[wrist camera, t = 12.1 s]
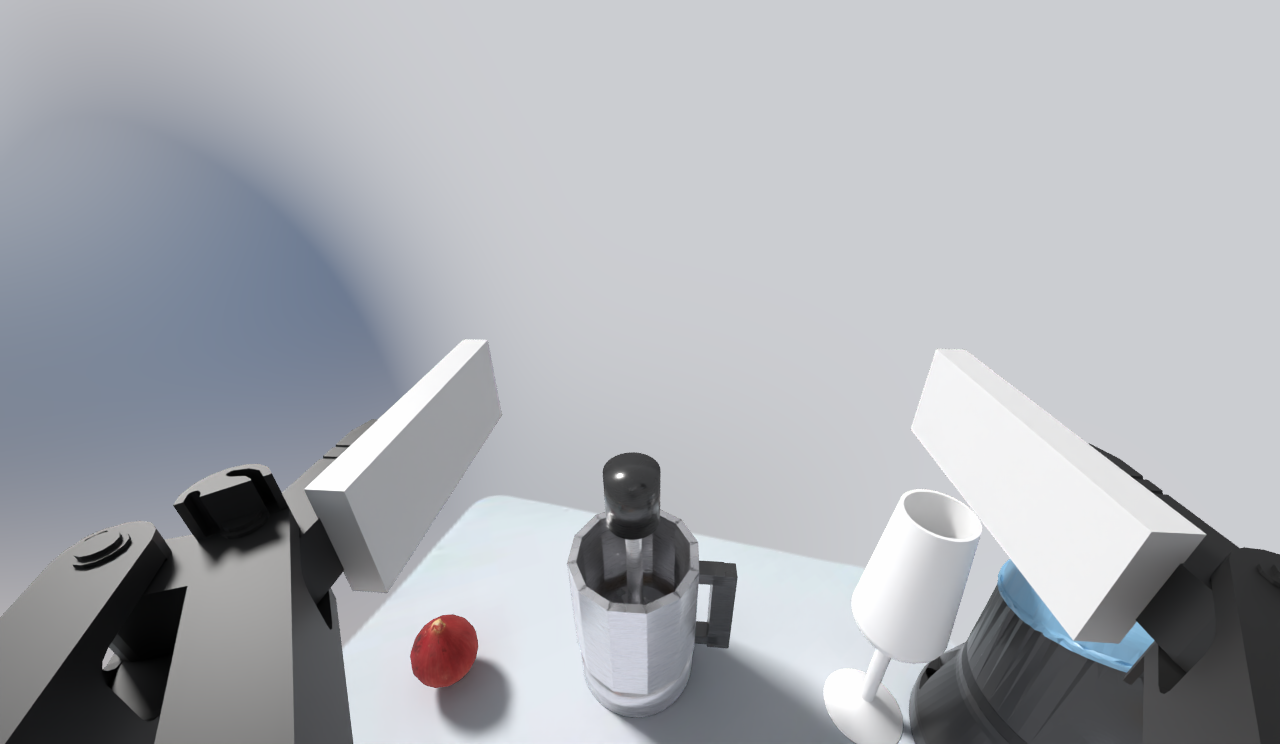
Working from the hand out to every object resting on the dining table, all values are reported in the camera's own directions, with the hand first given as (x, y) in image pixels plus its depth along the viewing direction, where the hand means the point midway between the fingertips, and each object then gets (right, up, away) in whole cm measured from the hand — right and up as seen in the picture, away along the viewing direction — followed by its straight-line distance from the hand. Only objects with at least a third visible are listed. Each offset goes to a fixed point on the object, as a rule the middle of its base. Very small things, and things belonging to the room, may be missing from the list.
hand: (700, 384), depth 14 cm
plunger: (-2, -24, +30) cm, 38 cm away
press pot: (0, -28, +32) cm, 43 cm away
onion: (-20, -30, +31) cm, 47 cm away
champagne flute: (+19, -31, +28) cm, 45 cm away
